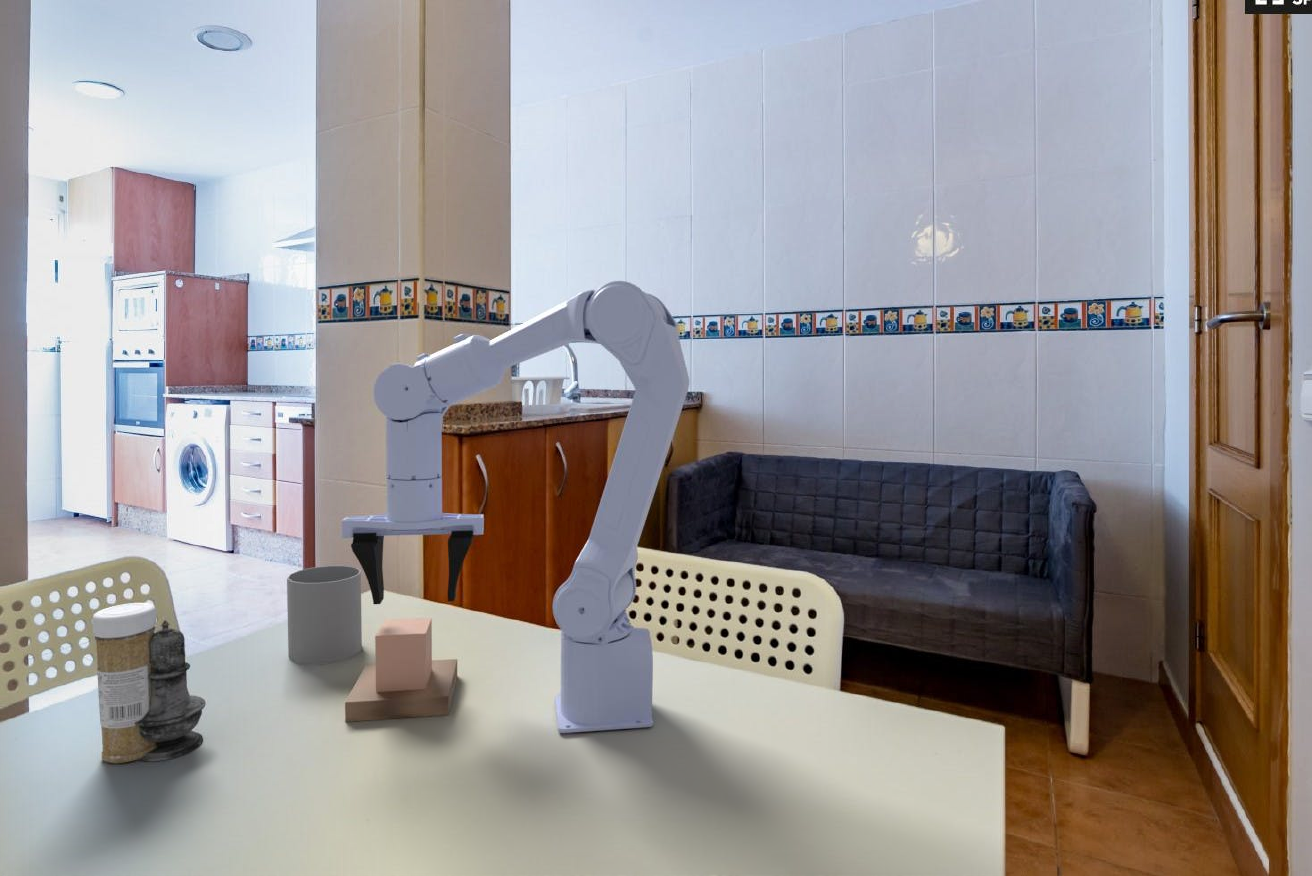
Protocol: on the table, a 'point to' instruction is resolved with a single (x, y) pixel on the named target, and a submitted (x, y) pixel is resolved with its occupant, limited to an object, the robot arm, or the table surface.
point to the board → (402, 696)
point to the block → (403, 654)
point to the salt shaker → (170, 699)
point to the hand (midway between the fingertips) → (415, 600)
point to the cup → (324, 614)
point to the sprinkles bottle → (124, 678)
